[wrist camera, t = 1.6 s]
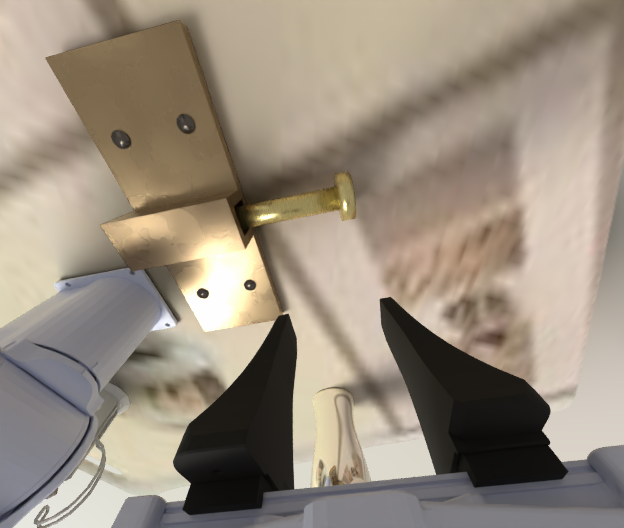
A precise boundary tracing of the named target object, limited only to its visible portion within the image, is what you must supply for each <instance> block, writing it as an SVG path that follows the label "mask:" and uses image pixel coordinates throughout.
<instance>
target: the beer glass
mask: <svg viewBox="0 0 624 528" xmlns="http://www.w3.org/2000/svg"><path fill="white" fill-rule="evenodd" d="M313 408H314V413H315V419H316V440H315V449H314V457H313V466H312V477H311V488H313V487H323V486H333V485H343V484H353V483H362V482H371V479H370V475H369V471H368V468H367V464H366V461H365V458H364V455H363V452H362V449H361V445H360V442H359V439H358V436H357V433H356V428H355V424H354V402H353V397H352V395H351V394H350V393H349V392H348V391H346V390H344V389H340V388H329V389H325V390H322V391H320V392H318V393H317V394H316V395H315V396H314V398H313Z"/></svg>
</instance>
